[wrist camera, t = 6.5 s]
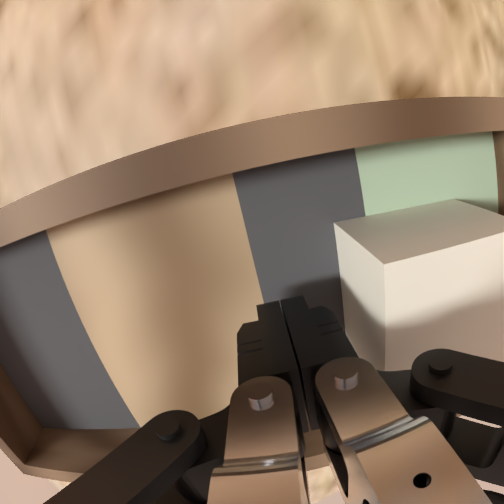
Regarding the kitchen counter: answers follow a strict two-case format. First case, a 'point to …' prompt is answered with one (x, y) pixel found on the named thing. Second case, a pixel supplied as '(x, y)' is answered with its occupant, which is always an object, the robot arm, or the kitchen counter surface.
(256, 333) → the robot arm
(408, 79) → the kitchen counter surface
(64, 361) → the channel
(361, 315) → the cream block
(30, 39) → the kitchen counter surface
